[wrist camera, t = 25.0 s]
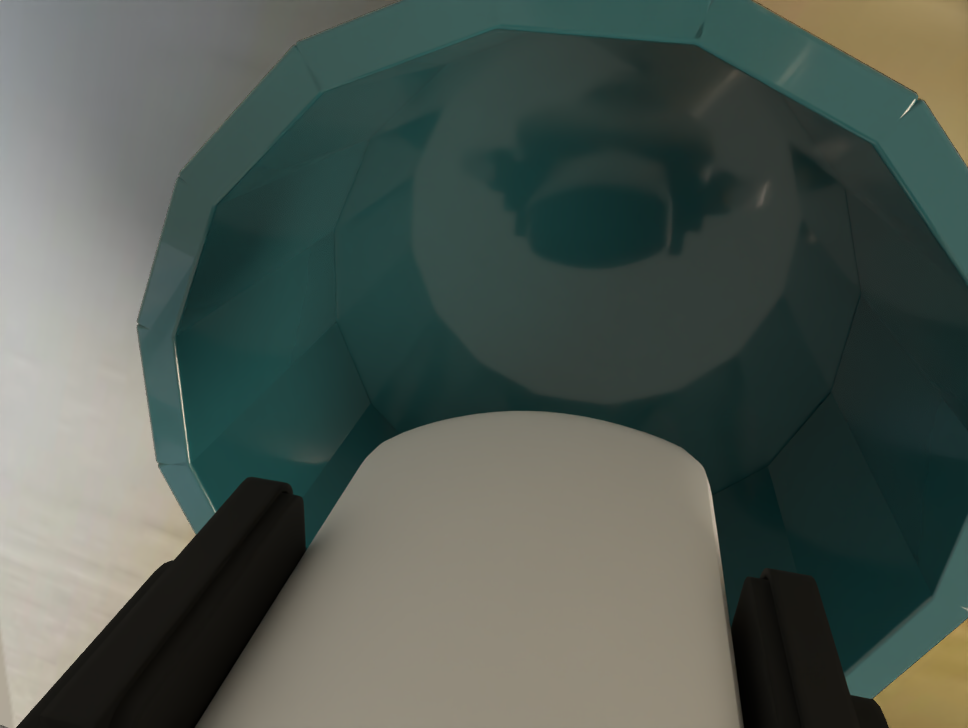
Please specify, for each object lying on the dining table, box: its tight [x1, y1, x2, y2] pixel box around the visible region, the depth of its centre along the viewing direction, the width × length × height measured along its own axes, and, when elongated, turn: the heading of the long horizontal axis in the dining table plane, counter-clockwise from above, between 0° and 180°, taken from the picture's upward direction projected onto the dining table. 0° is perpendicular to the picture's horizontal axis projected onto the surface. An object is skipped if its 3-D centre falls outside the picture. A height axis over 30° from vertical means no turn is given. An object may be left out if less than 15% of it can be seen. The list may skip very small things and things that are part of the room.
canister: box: [137, 0, 968, 699], centre depth 17 cm, size 16×16×8 cm
